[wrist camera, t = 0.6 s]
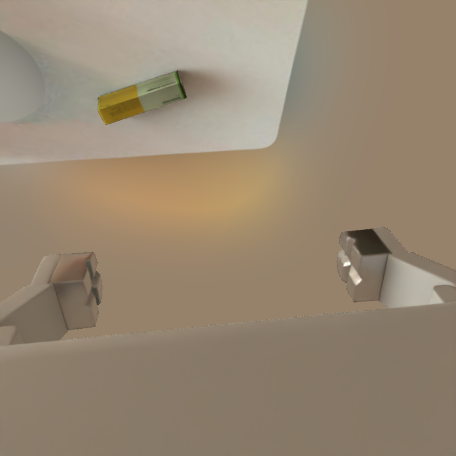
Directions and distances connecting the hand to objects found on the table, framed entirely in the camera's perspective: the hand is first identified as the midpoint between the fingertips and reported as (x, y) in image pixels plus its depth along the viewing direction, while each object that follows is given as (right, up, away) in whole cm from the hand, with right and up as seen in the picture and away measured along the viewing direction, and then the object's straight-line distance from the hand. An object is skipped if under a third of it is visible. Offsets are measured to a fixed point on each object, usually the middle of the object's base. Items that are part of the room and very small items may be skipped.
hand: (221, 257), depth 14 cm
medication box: (-12, +21, +46) cm, 52 cm away
